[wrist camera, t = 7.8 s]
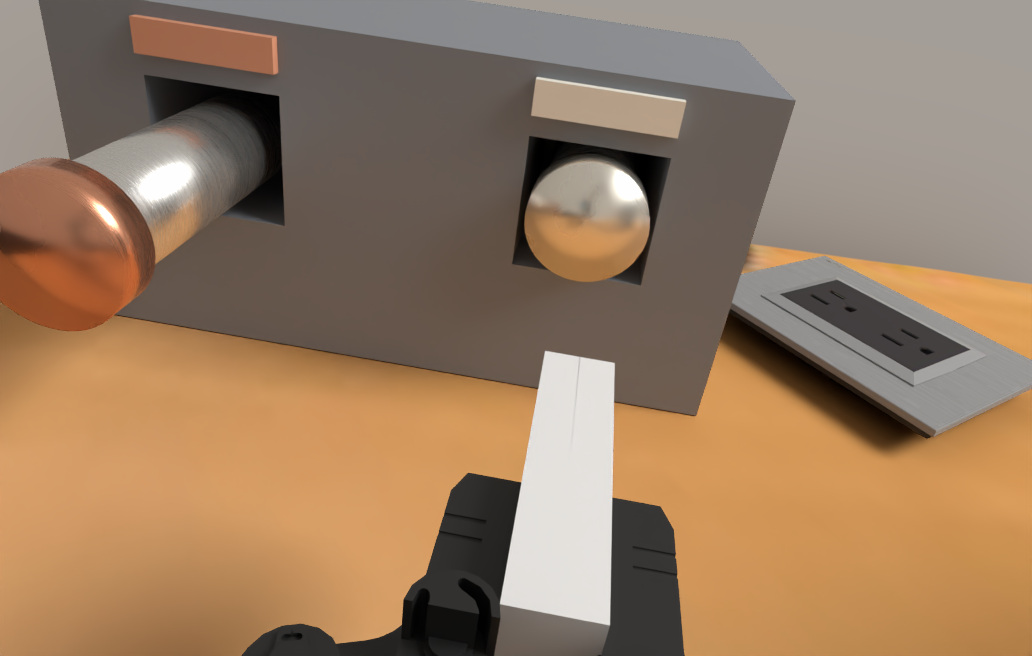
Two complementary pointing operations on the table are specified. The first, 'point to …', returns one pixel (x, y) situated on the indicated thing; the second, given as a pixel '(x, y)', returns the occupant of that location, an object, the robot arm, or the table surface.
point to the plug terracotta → (125, 209)
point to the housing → (440, 176)
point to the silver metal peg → (587, 213)
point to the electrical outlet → (881, 343)
